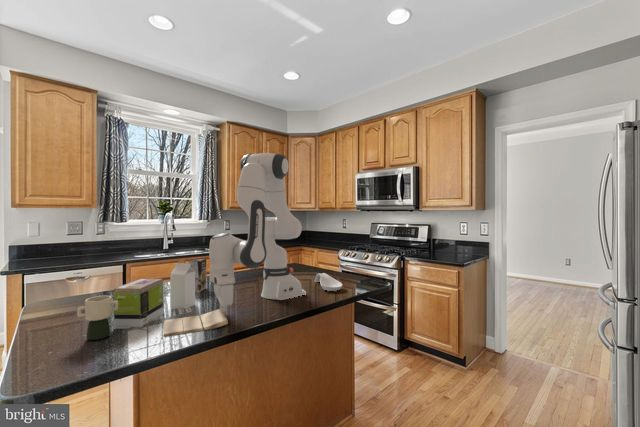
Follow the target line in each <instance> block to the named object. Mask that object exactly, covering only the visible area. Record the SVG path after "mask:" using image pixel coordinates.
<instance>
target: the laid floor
mask: <svg viewBox="0 0 640 427" xmlns="http://www.w3.org/2000/svg"><path fill="white" fill-rule="evenodd" d="M163 323H164V324H163V337H169V336H175V335H182V334H188V333H194V332H200V331H203V324H202V320H201V317H200V315H194V316H193V315H192V316H185V317H178V318H170V319H164V321H163Z"/></svg>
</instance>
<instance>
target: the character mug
mask: <svg viewBox="0 0 640 427" xmlns="http://www.w3.org/2000/svg"><path fill="white" fill-rule="evenodd" d="M114 304H115V308H114V307H112V306H113V305H114ZM82 310H84V313H82ZM115 310H118V301H114V300H112V295H97V296H95V295H94V296H92V297H89V298H86V299H85V300H84V305H83V306H82V305H81V306H79V307H77V310H76V315H77V316H76V317H77V318H85V320H86V321H89V322H88V325H87V331H86V339H88V340H92V341H93V340H95V341H96V340H101V339H105V338H107V337H108V336H109V335H111V328H110V327H111V326H110V323H109V319H108V318H110V317H111V316H112V312H114V311H115Z"/></svg>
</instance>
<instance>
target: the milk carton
mask: <svg viewBox="0 0 640 427" xmlns="http://www.w3.org/2000/svg"><path fill="white" fill-rule="evenodd" d="M169 278H170V279H169V281H170V289H169V292H170V294H169V296H170V297H169V298H170V300H169V301H170V302H169V307H170V308H169V309H171V310H179V309H187V308H191V307H193V306H195V305H196V293H195V271H194V270H193V268H192V267H191V266H190V264H188V263H182V262H181V263H180V262H176V263H175V266H174V268H173V269H172V271H171V272H170V276H169Z"/></svg>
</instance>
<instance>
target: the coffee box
mask: <svg viewBox="0 0 640 427" xmlns="http://www.w3.org/2000/svg"><path fill="white" fill-rule="evenodd" d="M187 264H190V266H191V267H192V268H193V270H194V271H195V294H197V293H201V292H203V291H205V289H207V258H194V259H191V260H188V262H187Z"/></svg>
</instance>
